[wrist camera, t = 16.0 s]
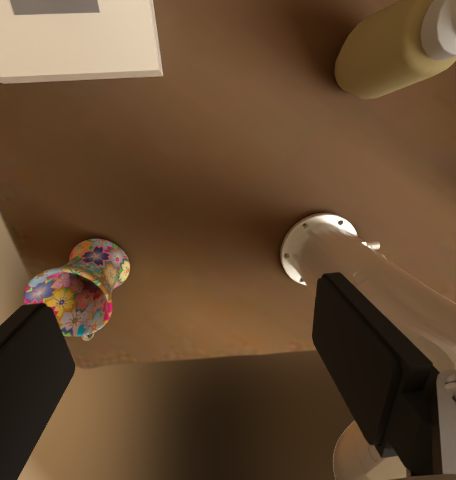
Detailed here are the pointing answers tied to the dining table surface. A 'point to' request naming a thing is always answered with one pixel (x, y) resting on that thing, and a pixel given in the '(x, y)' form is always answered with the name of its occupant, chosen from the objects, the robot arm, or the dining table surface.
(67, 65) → the base board
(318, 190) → the dining table surface
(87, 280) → the mug
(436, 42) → the squeeze bottle
